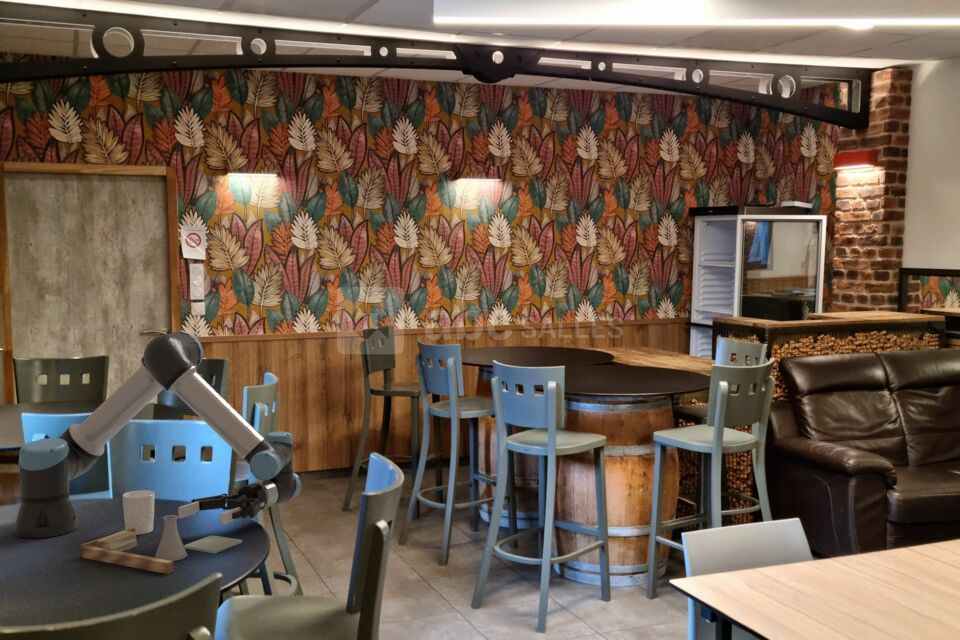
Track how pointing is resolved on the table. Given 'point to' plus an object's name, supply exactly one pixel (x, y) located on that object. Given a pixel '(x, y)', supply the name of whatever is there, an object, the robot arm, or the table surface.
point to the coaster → (212, 544)
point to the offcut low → (126, 546)
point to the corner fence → (125, 557)
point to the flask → (171, 541)
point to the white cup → (139, 511)
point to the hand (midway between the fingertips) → (200, 516)
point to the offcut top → (117, 540)
